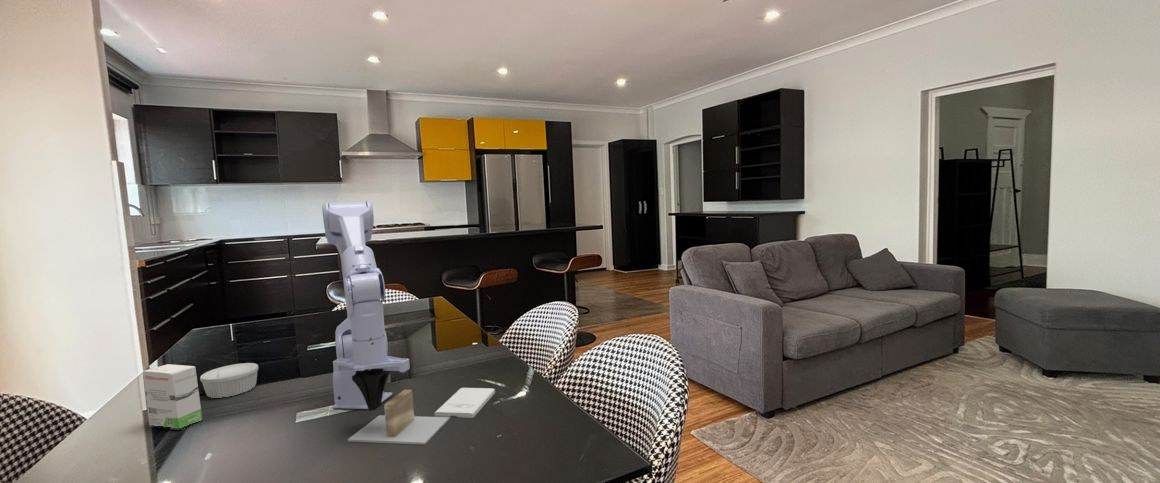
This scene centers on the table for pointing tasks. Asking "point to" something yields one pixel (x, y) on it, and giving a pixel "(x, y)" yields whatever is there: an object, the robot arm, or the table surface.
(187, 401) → the ink box
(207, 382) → the ramekin
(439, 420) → the mat
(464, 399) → the external hard drive
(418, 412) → the table surface
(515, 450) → the table surface
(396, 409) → the tile
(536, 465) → the table surface
